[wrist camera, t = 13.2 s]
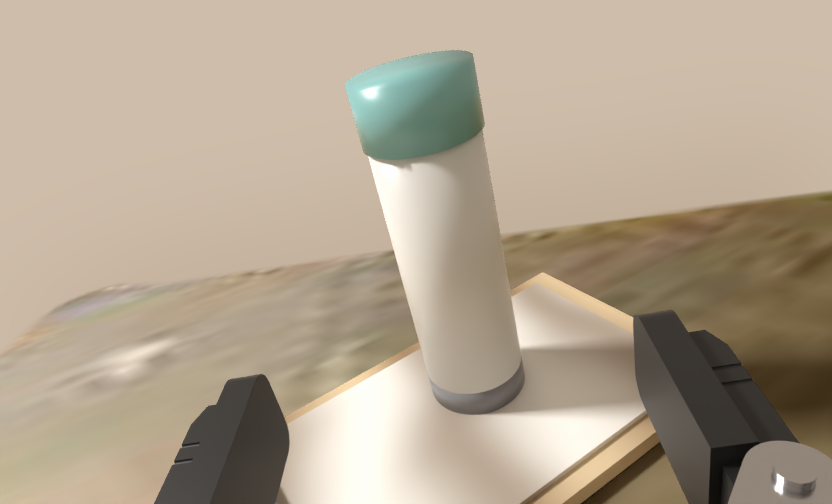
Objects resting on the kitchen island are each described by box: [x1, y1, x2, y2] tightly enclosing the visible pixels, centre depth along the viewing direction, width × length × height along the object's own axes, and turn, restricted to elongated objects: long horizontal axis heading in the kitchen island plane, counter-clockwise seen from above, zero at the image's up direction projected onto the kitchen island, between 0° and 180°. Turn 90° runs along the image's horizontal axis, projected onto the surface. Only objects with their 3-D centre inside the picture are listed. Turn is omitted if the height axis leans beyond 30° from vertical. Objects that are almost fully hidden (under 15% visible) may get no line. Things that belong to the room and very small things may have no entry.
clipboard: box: [275, 272, 660, 504], centre depth 21 cm, size 18×10×1 cm, turn 122°
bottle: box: [345, 50, 525, 415], centre depth 20 cm, size 4×4×12 cm
